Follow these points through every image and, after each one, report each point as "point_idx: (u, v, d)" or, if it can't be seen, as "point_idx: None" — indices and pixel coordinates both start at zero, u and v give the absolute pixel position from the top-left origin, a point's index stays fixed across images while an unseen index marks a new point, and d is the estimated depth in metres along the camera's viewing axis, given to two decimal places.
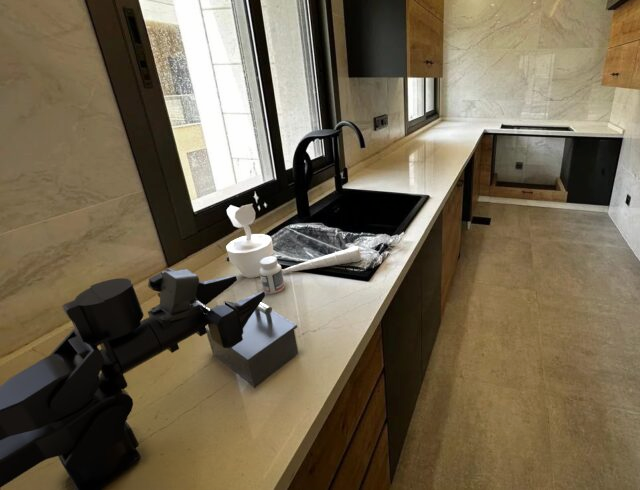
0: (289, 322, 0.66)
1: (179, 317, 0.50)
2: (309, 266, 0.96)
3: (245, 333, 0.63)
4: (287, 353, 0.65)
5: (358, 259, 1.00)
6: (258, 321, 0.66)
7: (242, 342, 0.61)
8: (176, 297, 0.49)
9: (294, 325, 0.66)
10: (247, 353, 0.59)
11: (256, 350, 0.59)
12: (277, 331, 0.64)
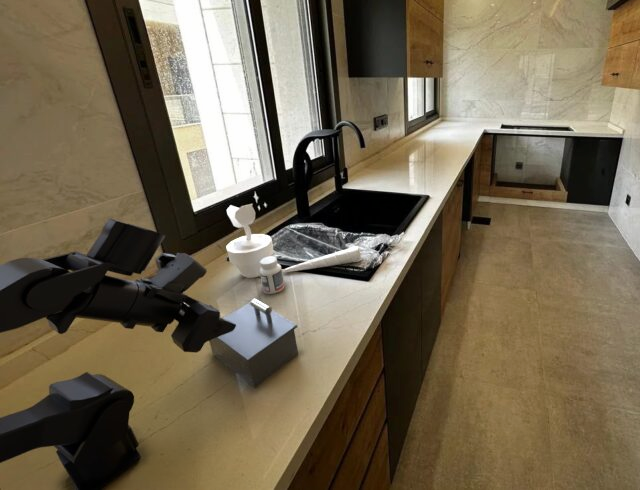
0: (289, 322, 0.66)
1: (166, 295, 0.49)
2: (309, 266, 0.96)
3: (245, 333, 0.63)
4: (287, 353, 0.65)
5: (358, 259, 1.00)
6: (258, 321, 0.66)
7: (242, 342, 0.61)
8: (181, 274, 0.50)
9: (294, 325, 0.66)
10: (247, 353, 0.59)
11: (256, 350, 0.59)
12: (277, 331, 0.64)
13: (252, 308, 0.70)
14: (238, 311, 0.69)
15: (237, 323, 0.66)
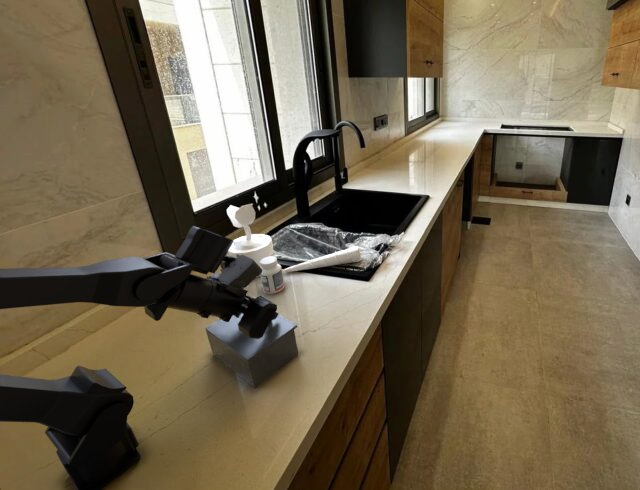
0: (289, 322, 0.66)
1: (232, 290, 0.57)
2: (309, 266, 0.96)
3: None
4: (287, 353, 0.65)
5: (358, 259, 1.00)
6: None
7: (242, 342, 0.61)
8: (244, 273, 0.59)
9: (294, 325, 0.66)
10: (247, 353, 0.59)
11: (256, 350, 0.59)
12: (277, 331, 0.64)
13: None
14: None
15: (237, 323, 0.66)
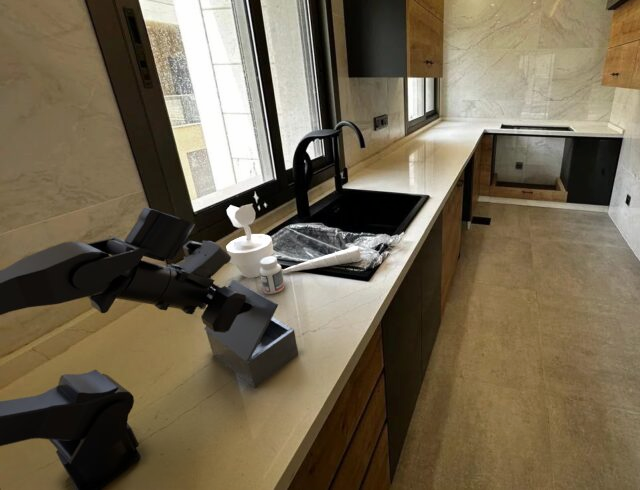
0: (269, 302, 0.61)
1: (195, 279, 0.52)
2: (309, 266, 0.96)
3: (236, 327, 0.62)
4: (287, 353, 0.65)
5: (358, 259, 1.00)
6: None
7: (237, 340, 0.60)
8: (208, 260, 0.53)
9: (274, 305, 0.60)
10: (244, 353, 0.58)
11: (250, 347, 0.58)
12: (261, 317, 0.60)
13: None
14: None
15: None
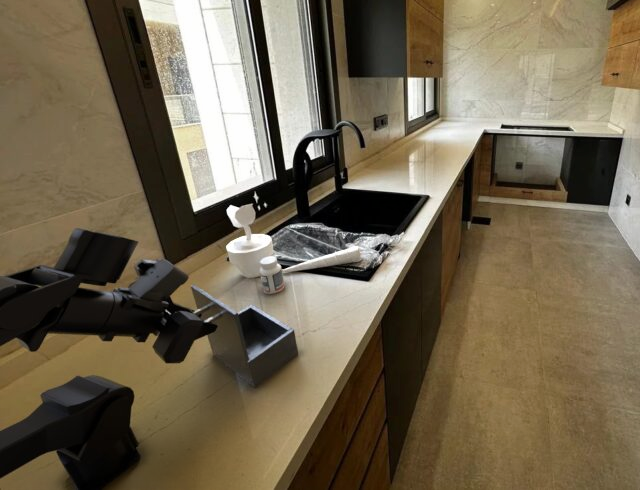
0: (228, 312, 0.55)
1: (145, 304, 0.46)
2: (309, 266, 0.96)
3: (221, 332, 0.59)
4: (287, 353, 0.65)
5: (358, 259, 1.00)
6: None
7: (229, 343, 0.59)
8: (160, 282, 0.48)
9: (233, 315, 0.54)
10: (241, 355, 0.58)
11: (241, 351, 0.57)
12: (232, 326, 0.56)
13: (199, 298, 0.60)
14: (197, 305, 0.62)
15: None
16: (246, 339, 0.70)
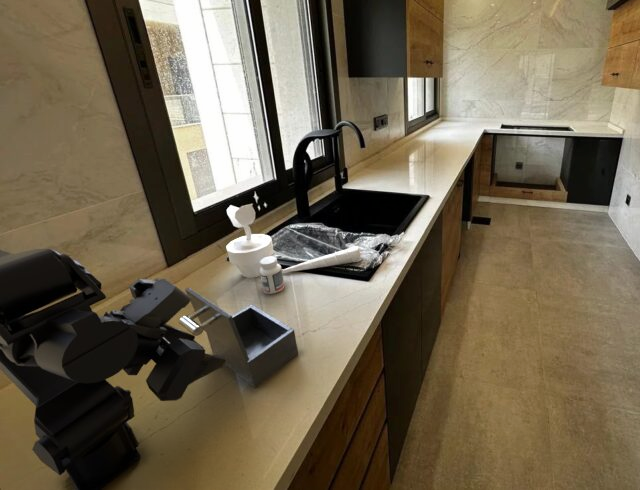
0: (222, 315, 0.54)
1: (140, 331, 0.41)
2: (309, 266, 0.96)
3: (220, 333, 0.59)
4: (287, 353, 0.65)
5: (358, 259, 1.00)
6: (211, 318, 0.58)
7: (228, 344, 0.59)
8: (159, 305, 0.42)
9: (228, 319, 0.53)
10: (240, 356, 0.58)
11: (240, 352, 0.57)
12: (228, 328, 0.55)
13: (194, 301, 0.60)
14: (194, 307, 0.61)
15: None
16: (246, 339, 0.70)
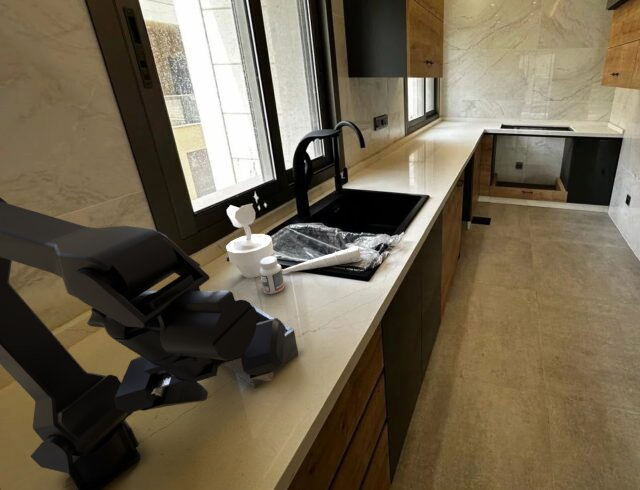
0: None
1: None
2: (309, 266, 0.96)
3: None
4: (287, 353, 0.65)
5: (358, 259, 1.00)
6: None
7: None
8: None
9: None
10: None
11: None
12: None
13: None
14: None
15: None
16: None
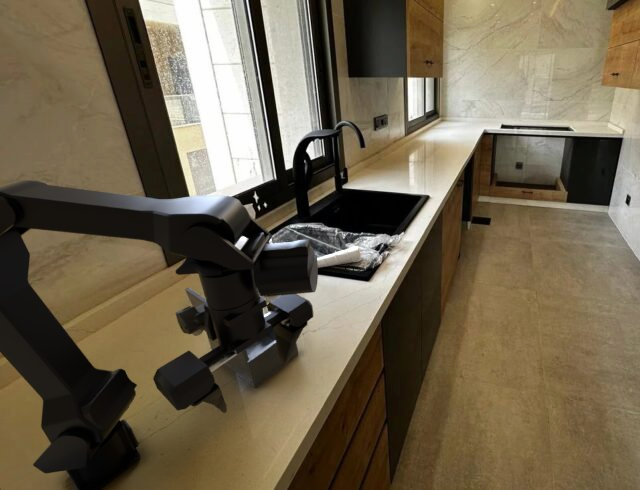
0: None
1: None
2: None
3: None
4: None
5: (358, 259, 1.00)
6: None
7: None
8: None
9: None
10: (240, 356, 0.58)
11: None
12: None
13: (194, 301, 0.60)
14: None
15: None
16: None
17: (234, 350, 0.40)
